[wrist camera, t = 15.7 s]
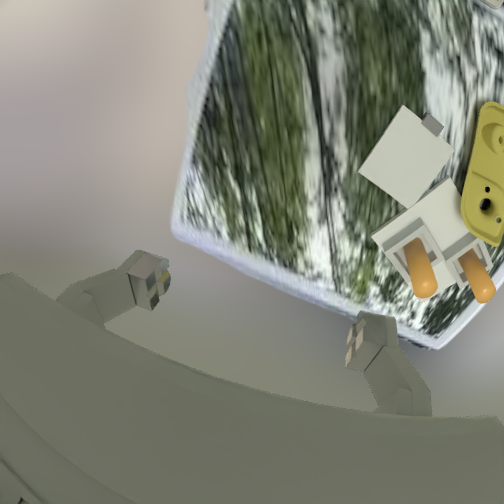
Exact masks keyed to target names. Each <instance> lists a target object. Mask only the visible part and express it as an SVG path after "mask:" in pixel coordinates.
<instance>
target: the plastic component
mask: <svg viewBox="0 0 504 504" xmlns="http://www.w3.org/2000/svg"><path fill="white" fill-rule="evenodd" d="M499 138H500V142H499ZM487 186H488V187H489V188H490V191H489V192H485V187H487ZM484 198H488V199H490V201H491V205H490V207H489V209H487V210H482V209H481V208H480V202H481V201H482V199H484ZM461 216H462V219H463V222H464V224H465V226H466V228H467V229H468V230H469V231H470V232H471V233H472V234H473V235H474V236H476V237H477V238H479V239H481V240H483V241H485V242H487V243H488V244H490V245H492V246H494V247H498V246H499V244H500V242H501V239H502V235H503V232H504V106H503V105H501V104H498V103H496V102H493V101H490V102H486V103H485V104H484V105H483V106H482V107H481V109H480V111H479V115H478V122H477V128H476V133H475V139H474V143H473V148H472V153H471V157H470V161H469V165H468V169H467V175H466V179H465V183H464V188H463V193H462V198H461ZM498 217H500V219H499V222H497V221H496V219H497V218H498Z"/></svg>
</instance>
